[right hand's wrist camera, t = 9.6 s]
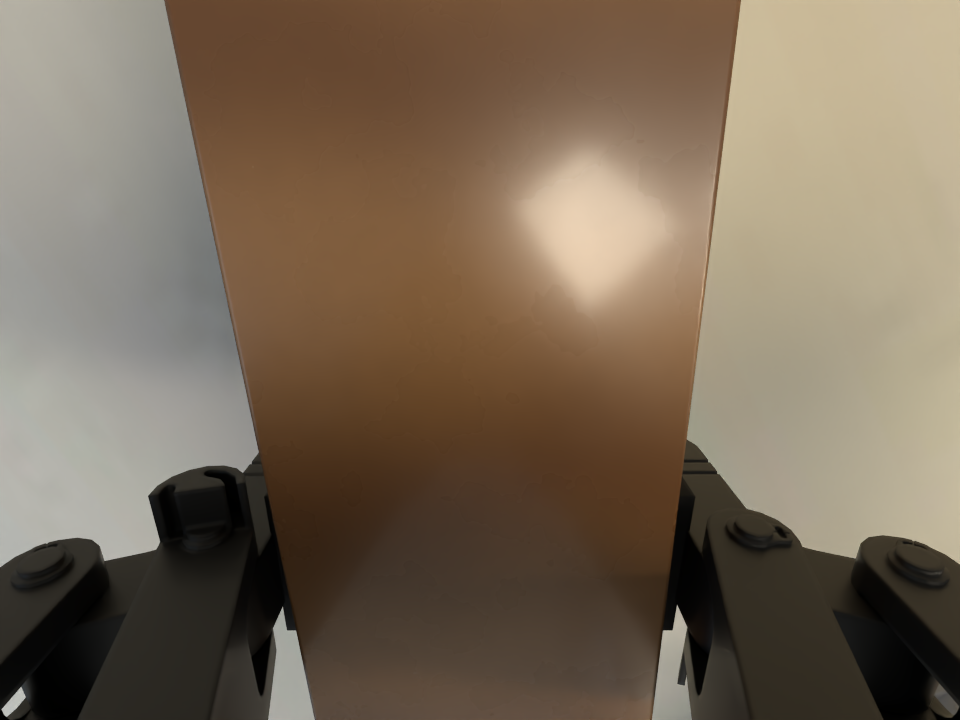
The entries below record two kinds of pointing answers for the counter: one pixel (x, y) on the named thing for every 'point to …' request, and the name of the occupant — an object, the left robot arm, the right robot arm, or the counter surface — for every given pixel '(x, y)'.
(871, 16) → the counter surface
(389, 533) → the post
